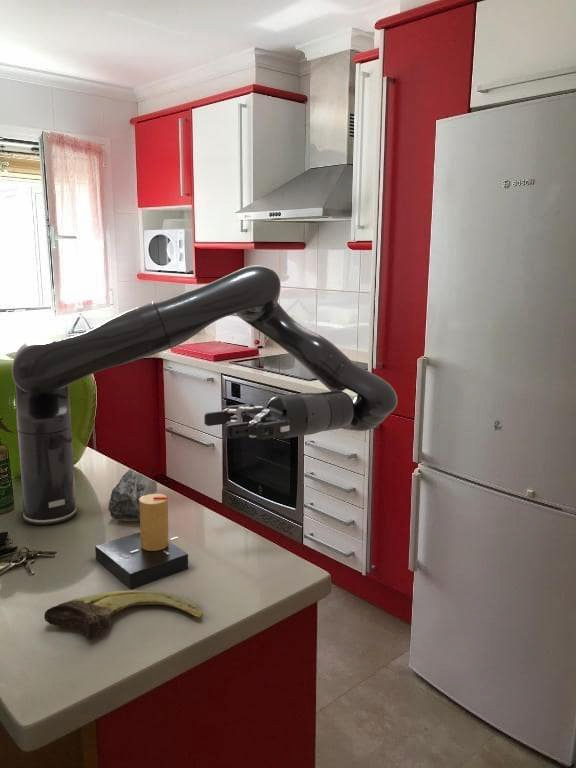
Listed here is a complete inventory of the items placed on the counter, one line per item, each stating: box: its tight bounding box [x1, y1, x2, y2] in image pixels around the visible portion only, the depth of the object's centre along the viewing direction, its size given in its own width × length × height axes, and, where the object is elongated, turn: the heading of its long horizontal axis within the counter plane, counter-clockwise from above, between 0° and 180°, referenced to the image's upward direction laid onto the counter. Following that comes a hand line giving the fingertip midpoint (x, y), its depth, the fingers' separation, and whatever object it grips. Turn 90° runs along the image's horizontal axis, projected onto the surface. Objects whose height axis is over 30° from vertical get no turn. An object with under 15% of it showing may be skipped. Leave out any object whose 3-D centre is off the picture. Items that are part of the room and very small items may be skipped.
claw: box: [43, 589, 204, 640], centre depth 87 cm, size 20×10×3 cm, turn 113°
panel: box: [94, 531, 189, 590], centre depth 102 cm, size 12×12×3 cm
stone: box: [107, 469, 158, 522], centre depth 119 cm, size 10×10×10 cm
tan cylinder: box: [139, 493, 170, 551], centre depth 102 cm, size 4×4×8 cm
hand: (215, 425), depth 104 cm, fingers open, 8 cm apart
